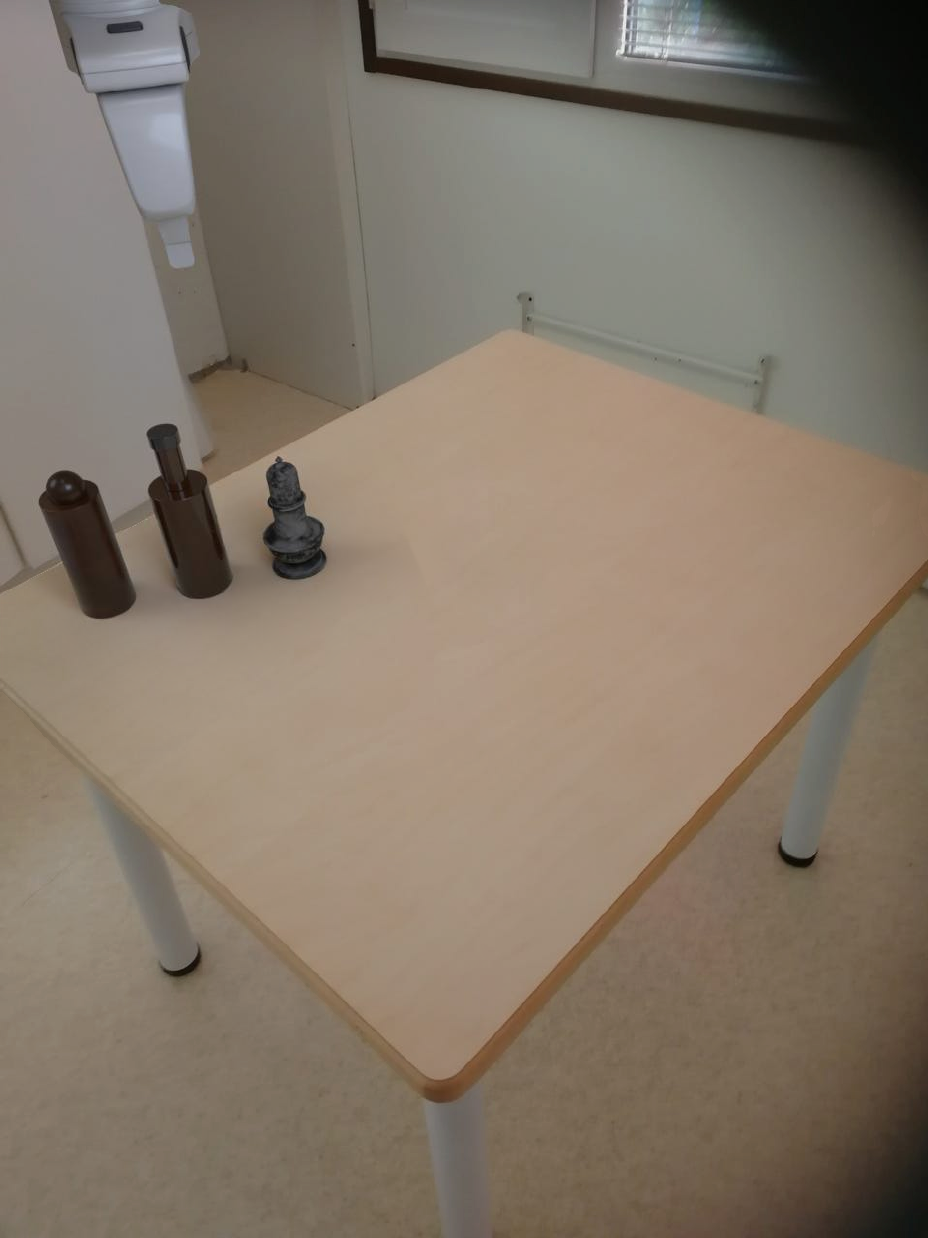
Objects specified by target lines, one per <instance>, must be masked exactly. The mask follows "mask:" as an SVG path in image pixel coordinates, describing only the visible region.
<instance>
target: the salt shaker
mask: <svg viewBox="0 0 928 1238" xmlns="http://www.w3.org/2000/svg"><path fill="white" fill-rule="evenodd" d="M265 478H266V483H267V487H268V492H269V496H268V498H267V506H268V508H270V509H271V510H272V514H273V515H272V516H273V519H274V520H273V522H271V523H269V525H267V527H265V529H264V530H263V533H262V541H263V544H264V545H265V546H266V547H267V548H268V551H270V552H271V554H273V556H274V558H273V560H272V564H271V567H272V570H273V572H274V573H275V574H276V575H277V576H279V577H280V578H283V579H286V580H303V579H307V578H311V577H312V576H315V575H317V574H319V572H321V571H322V570H323V569H324V568H325V566H326V564H327V560H328V559H327V555H326V553H325V552H324V551H323V550H322V549H321V546H322V543H323V538H324V536H325V526H324V524H323V523H322V522H321V520H320V519H318V518H316V517H314V516H310V515H307V512H306V506H305V503H306V500H307V494H306V493H305V492H304V491H303V490H302V489H301V483H300V479H299V474H298V470H297V468H296V466H295V465H294V464H292V463H291V462H289V461H283V458H282V457H281V456H279V455H277V456H276V458H275V459H274V463H272V464H271V465H270V466H269V467H267V470H266V472H265Z"/></svg>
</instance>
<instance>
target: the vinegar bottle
mask: <svg viewBox="0 0 928 1238" xmlns="http://www.w3.org/2000/svg"><path fill="white" fill-rule="evenodd" d="M145 434H146V438H147V441H148V445H149V447H150V449H151V450H152V451H153V453H154V456H155V459H156V463H157V467H158V470H159V473H160V475H159V476H157V477H156V478H154V479H153V480H152V481H151V482H150V483H149V485H148V487H147V494H148V498H149V501H150V504H151V507H152V510H153V514H154V516H155V519H156V523H157V526H158V529H159V532H160V536H161V538H162V541H163V545H164V548H165V551H166V554H167V558H168V560H169V564H170V567H171V570H172V573H173V576H174V579H175V582H176V583H175V584H176V586H177V589H178V591H179V592H180V593H181V594H182V595H183V596H184V597H186V598H189V599H194V600H195V599H196V600H202V599H208V598H212V597H215V596H218V595H219V594H222V593H223V592H225V591H226V590H227V589H228V588H229V587H230V585H232V582H233V578H234V576H233V571H232V568H231V564H230V560H229V556H228V553H227V549H226V545H225V542H224V538H223V533H222V530H221V527H220V522H219V519H218V515H217V511H216V507H215V504H214V499H213V496H212V492H211V488H210V486H209V480H208V478H207V475H206V474H204V473H203V472H201V471H198V470H196V469H188V468H187V466H186V462H185V459H184V455H183V452H182V449H181V445H180V444H181V441H182V439H181V436H180V433H179V428H178V426H176V425H175V424H173V423H159V424H156V425H153V426H151V427H150V428H149V429H148V430H147V431H146V433H145Z"/></svg>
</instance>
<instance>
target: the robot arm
mask: <svg viewBox="0 0 928 1238" xmlns="http://www.w3.org/2000/svg"><path fill="white" fill-rule="evenodd" d="M48 4H49V6H50V11H51V14H52V17H53V20H54V25H55V28H56V33H57V35H58V38H59V42H60V46H61V49H62V54H63V57H64V60H65V64H66V67H67V69H68V70H69V71H70V72H72V73H74V74H76V75H77V76H78V77H79V78H80V81H81V84H82V86H83V88H84V89H83V90H85V92H86V93H87V94H94V95H95V97H96V101H97V104H98V107H99V110H100V113H101V115H102V118H103V121H104V124H105V126H106V129H107V132H108V135H109V138H110V140H111V143H112V146H113V149H114V152H115V155H116V157H117V160H118V163H119V165H120V168H121V171H122V173H123V176H124V179H125V182H126V184H127V187H128V189H129V192H130V194H131V198H132V199H133V201H134V203H135V206H136V208H137V210H138V212H139V214H140V216H141V217H142V218H143V219H144V220H145V221H149V222H150V221H155V223H156V226H157V229H158V232H159V235H160V237H161V240H162V242H163V245H164V248H165V251H166V255H167V256H166V257H167V260H168V263H169V266H170V267H171V268H172V269H175V270H179V269H185V268H191V267H193V265H195V263H196V262H195V261H196V259H195V254H194V250H193V245H192V242H191V235H190V227H189V220H188V216H191V215H194V213H195V212H196V205H197V202H196V201H197V200H196V198H197V197H196V186H195V175H194V166H193V160H192V159H193V157H192V153H191V152H192V151H191V150H192V149H191V142H190V133H189V126H188V118H187V116H188V115H187V107H186V86H188V84H189V81H190V73H191V67H192V65H193V63H194V61H195V60H197V59H198V58H199V57H200V55H201V48H200V42H199V37H198V33H197V28H196V23H195V18H194V13H193V12H192V13H193V14H192V13H189V12H187V11H186V10H184V9H182V8H178V7H176V6H173V5H166V4H161V3H160V2H159V0H48Z"/></svg>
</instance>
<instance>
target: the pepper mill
mask: <svg viewBox="0 0 928 1238" xmlns="http://www.w3.org/2000/svg"><path fill="white" fill-rule="evenodd" d="M38 506H39V509H40V510H41V513H42V515H43V519H44V520H45V523H46V525H47V527H48V530H49V533H50V535H51V538H52V540H53V542H54V545H55V548H56V550H57V552H58V554H59V557H60V560H61V562H62V565H63V567H64V569H65V572H66V574H67V576H68V579H69V582H70V584H71V587H72V588H73V591H74V594H75V596H76V598H77V601H78V603H79V606H80V608H81V611H82V612H83V614H84V615H85V616H87V617H89V618H92V619H98V620H104V619H110V618H114V617H117V616H120V615H122V614H124V613H125V612H127V611H128V610H130V608H131V607H132V606H133V605H134V603H135V602H136V599H137V593H136V590H135V587H134V585H133V582H132V581H133V580H132V578H131V576H130V573H129V570H128V567H127V565H126V561H125V559H124V556H123V554H122V551H121V547H120V545H119V542H118V540H117V536H116V534H115V532H114V528H113V525H112V522H111V520H110V517H109V513H108V512H107V509H106V506H105V502H104V500H103V497H102V494H101V492H100V488H99V486H98V485H97V484H96V483H95V482H93V481H91V480H89V479H83V477H82V476H81V475H79V474H78V473H77V472H75V471H72V470H67V469H66V470H65V469H62V470H58V471H56V472H54V473H52V474H51V475H50V476H49V477H48V479H47V481H46V484H45V490H44V491H43V492H42V493H41V494H40V496H39V498H38Z"/></svg>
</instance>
